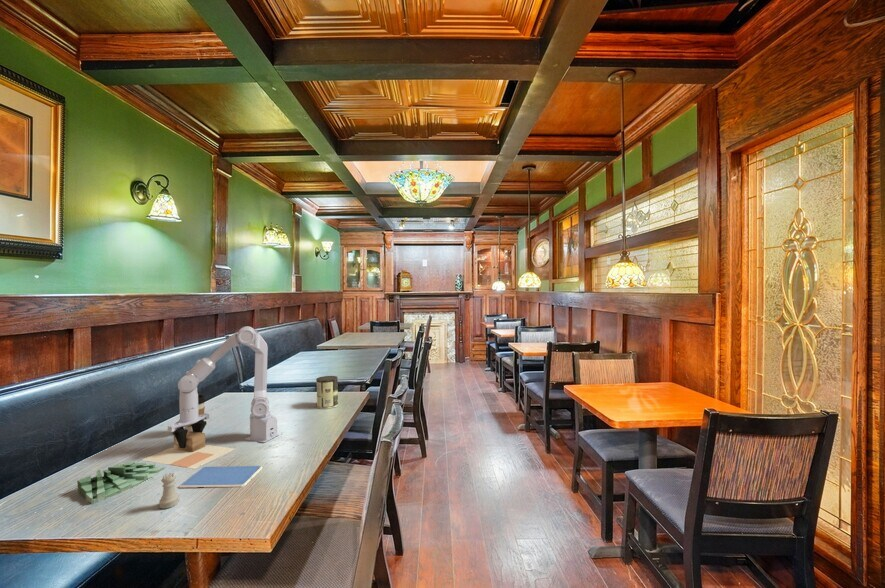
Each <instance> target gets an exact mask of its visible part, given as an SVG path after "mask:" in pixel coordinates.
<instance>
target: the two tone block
mask: <svg viewBox="0 0 885 588" xmlns="http://www.w3.org/2000/svg"><path fill="white" fill-rule="evenodd" d="M205 445H206V433H205V432H202V433H200V432H192V431H188V432H187V435H186V447H185V448H179V444H178V442H177V439H176V437H175V436H174V435H173V447H174V450H181V451H188V452H194V451H197V450H199V449H201V448H203V447H205Z"/></svg>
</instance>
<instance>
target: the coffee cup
mask: <svg viewBox="0 0 885 588" xmlns="http://www.w3.org/2000/svg"><path fill="white" fill-rule="evenodd" d="M205 402H206V397H205V395H203V394H198V415H201V414H205V409H206V407H205ZM184 428H185V429H186V430H188V431H192V432H193V430H192V426H191V425H189V426H186V427H184Z"/></svg>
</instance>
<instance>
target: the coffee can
mask: <svg viewBox="0 0 885 588" xmlns="http://www.w3.org/2000/svg"><path fill="white" fill-rule="evenodd" d="M315 379H316V408H317V409H320V410H329V409H333V408H336V407H338V406H339V399H338V398H339V395H338V394H339V393H338V390H339V389H338V376H336V375H324V376H323V375H322V376H320V377H317V378H315Z"/></svg>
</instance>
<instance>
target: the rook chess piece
mask: <svg viewBox="0 0 885 588" xmlns="http://www.w3.org/2000/svg"><path fill="white" fill-rule="evenodd" d="M176 478H177V476H176V475H175V473H174V472H173V473H172V472H170V473H169V474H168V473H166V474H165V475H163V476H162V479H161V483H162V488H163V489H162V495H161V496H160V499H159V501H158V502H159V505H158V507H159V508H160V509H162V510H165V509H166V510H167V509H170V508H173V507H175V506H176V505H177V504H178V503H179V502H180V499H179V497H180V496H179V495H178V493H177V492H176V489H175V484H176V482H175V480H176Z"/></svg>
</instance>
